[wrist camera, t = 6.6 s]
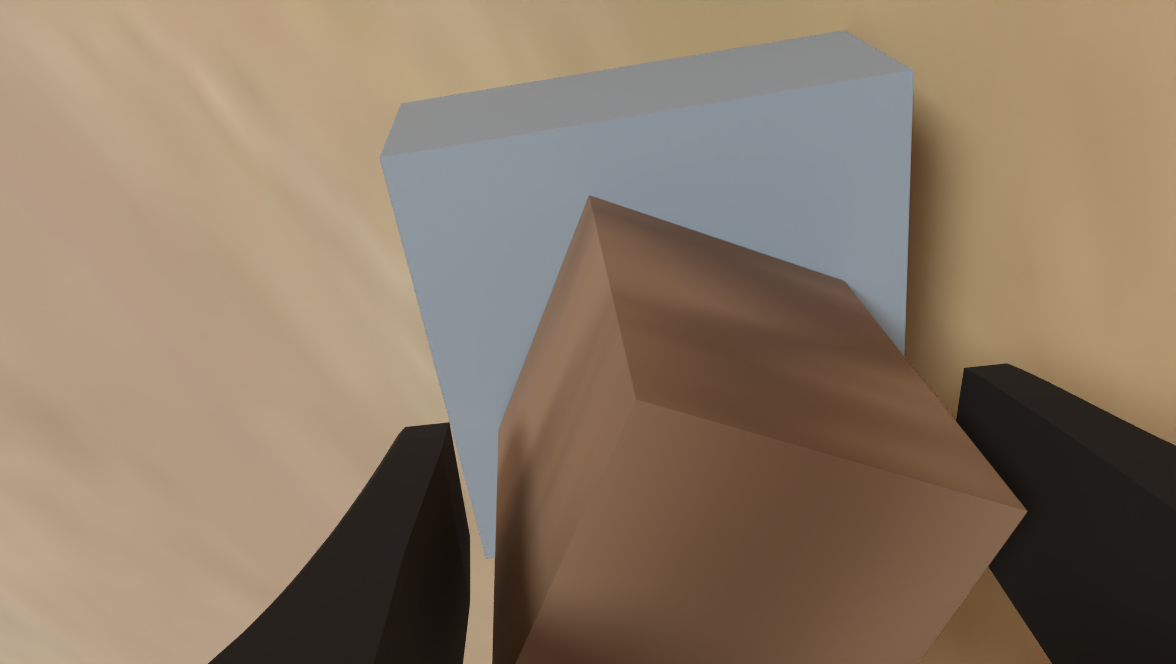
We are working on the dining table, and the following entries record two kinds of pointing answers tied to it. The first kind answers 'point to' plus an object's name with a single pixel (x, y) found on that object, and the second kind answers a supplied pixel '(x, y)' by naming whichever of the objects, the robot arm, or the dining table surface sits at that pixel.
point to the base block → (642, 195)
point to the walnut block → (726, 468)
